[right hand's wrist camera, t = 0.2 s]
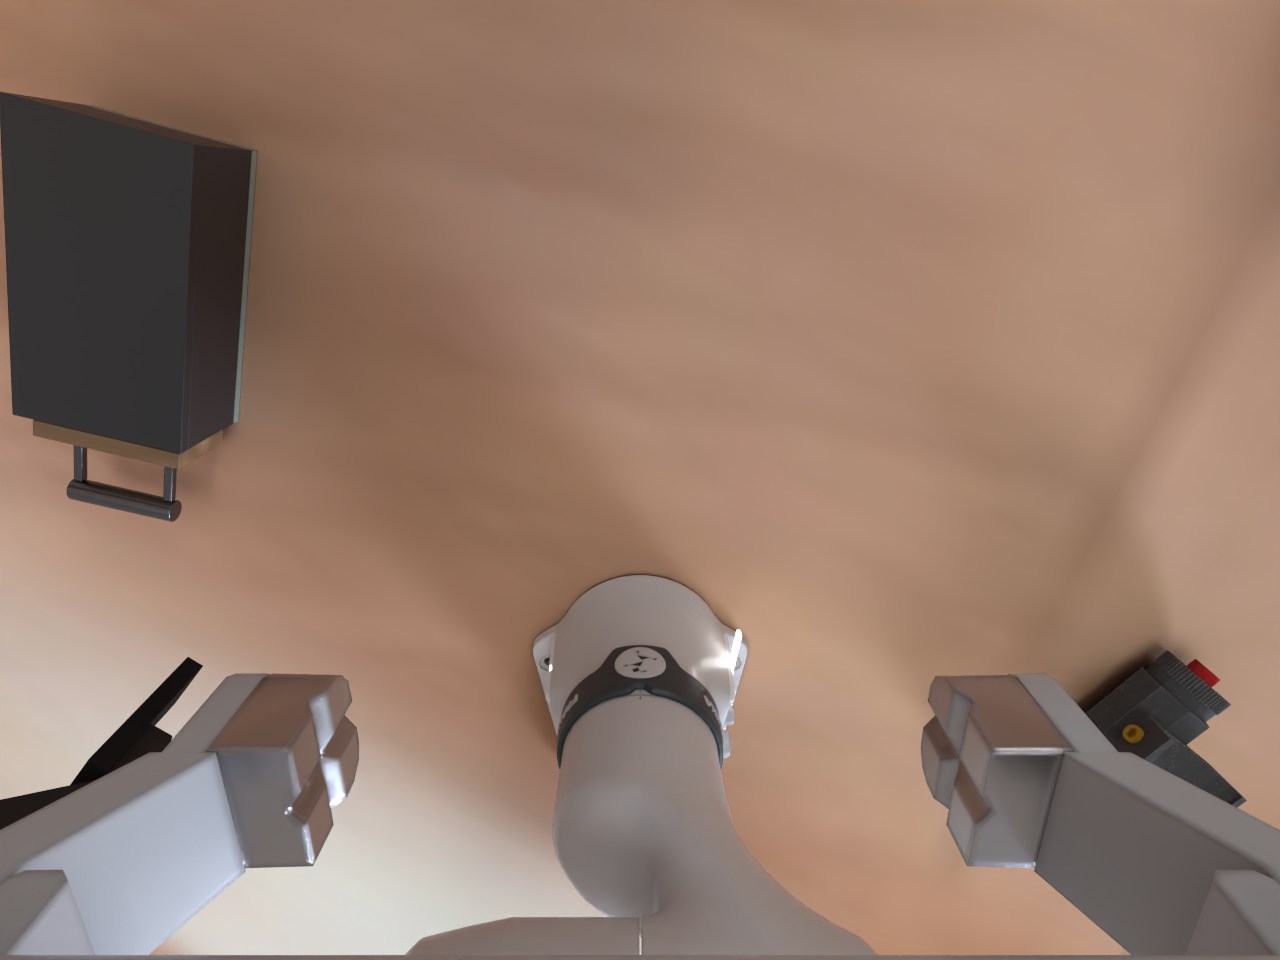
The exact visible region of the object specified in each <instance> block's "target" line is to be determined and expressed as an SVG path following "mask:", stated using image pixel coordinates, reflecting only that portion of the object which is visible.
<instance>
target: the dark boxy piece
mask: <svg viewBox="0 0 1280 960" xmlns="http://www.w3.org/2000/svg"><path fill="white" fill-rule="evenodd" d="M0 128H1V151H2V174H3V198H4V221H5V245H6V268H7V292H8V315H9V338H10V362H11V385H12V409H13V415H17V416H22V417H26V418H30V419H34V420H39V421H43V422H47V423H52V424H56V425H60V426H64V427H69V428H73V429H77V430H82V431H86V432H90V433H94V434H99V435H103V436H107V437H112V438H116V439H120V440H124V441H129V442H133V443H137V444H141V445H146V446H150V447H154V448H159V449H163V450H167V451H171V452H176V453H180V454H181V453H183V452H184V451H186V450H188V449H190V448H191V447H193V446H195V445H197V444H198V443H200V442H202V441H204V440H205V439H207V438H209V437H211V436H212V435H214V434H216V433H218V432H219V431H221V430H223V429H225V428H226V427H228V426H230V425H232V424H234V423H236V422H238V417H239V403H240V389H241V375H242V360H243V346H244V332H245V318H246V304H247V289H248V275H249V261H250V247H251V233H252V218H253V204H254V190H255V176H256V162H257V151H256V150H252V149H249V148H245V147H241V146H238V145H234V144H230V143H227V142H223V141H219V140H216V139H212V138H208V137H205V136H201V135H197V134H194V133H190V132H186V131H183V130H179V129H175V128H172V127H168V126H164V125H161V124H157V123H153V122H150V121H146V120H142V119H138V118H135V117H131V116H127V115H124V114H120V113H116V112H113V111H109V110H105V109H102V108H98V107H94V106H90V105H82V104H75V103H69V102H62V101H56V100H49V99H43V98H36V97H30V96H23V95H17V94H11V93H4V92H0Z"/></svg>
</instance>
